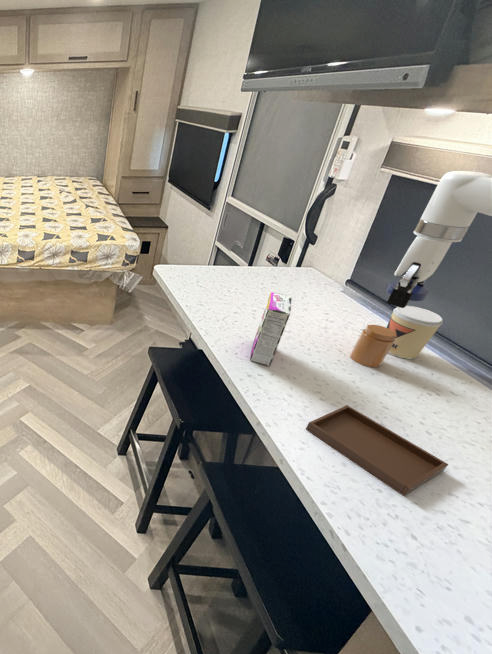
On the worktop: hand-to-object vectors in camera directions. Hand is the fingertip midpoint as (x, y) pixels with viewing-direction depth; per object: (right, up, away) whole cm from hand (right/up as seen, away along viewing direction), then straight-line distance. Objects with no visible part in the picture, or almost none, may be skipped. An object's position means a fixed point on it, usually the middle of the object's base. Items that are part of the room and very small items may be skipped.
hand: (401, 300), depth 95 cm
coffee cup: (+14, -14, +15) cm, 25 cm away
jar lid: (0, +3, -1) cm, 3 cm away
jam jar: (+2, -16, +11) cm, 20 cm away
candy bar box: (-24, -15, +14) cm, 32 cm away
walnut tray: (-22, -30, -14) cm, 40 cm away
